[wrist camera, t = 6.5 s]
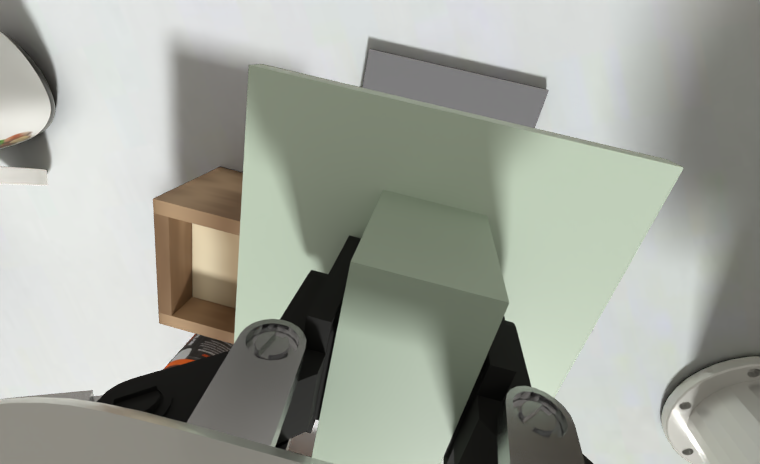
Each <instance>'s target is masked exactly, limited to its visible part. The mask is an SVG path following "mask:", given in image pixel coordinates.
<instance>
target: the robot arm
mask: <svg viewBox="0 0 760 464" xmlns="http://www.w3.org/2000/svg"><path fill="white" fill-rule="evenodd" d="M360 240H361V238H358V237H354V236H350V235H349V237H348V238H347V240H346V242H345V244H344V246H343V248H342V250H341V252H340V253H339V255H338V257H337V259H336V261H335V263H334V265H333V267H332V268H331V270H330V272H329V274H326V273H322V272H318V271H314V270H311V271H310V272H309V273H308V275H307V277H306V278H305V280H304V281H303V283H302V285H301V286H300V288H299V289H298V291H297V293H296V294H295V296H294V297H293V299H292V301H291V302H290V304H289V305H288V307H287V309H286V310H285V312H284V313H283V315H282V317H281V318H280V319H265V320H260V321H257V322H254V323H252V324H250V325H249V326H247V327H246V328H245V329H244V330H243V331H242V332H241V333H240V335H239V336H238V338H237V340H236V341H235V343H234V345H233V346H232V348H231V350H230V351H226V352H223V353H219V354H216V355H212V356H209V357H205V358H202V359H199V360H195V361H192V362H188V363H185V364H181V365H178V366H174V367H171V368H167V369H164V370H161V371H157V372H154V373H150V374H147V375H143V376H140V377H136V378H133V379H130V380H128V381H125V382H122V383H120V384H118V385H116V386H115V387H113V388H112V389H110V390H108V391H107V392H106V393H105V394H104V395H102V396H93V390H90V391H80V392H69V393H58V394H48V395H37V396H26V397H16V398H5V399H0V464H333V463H329V462H326V461H322V460H319V459H315V458H312V457H308V456H304V455H301V454H297V453H294V452H290V451H288V450H289V446H290V442H291V438H293V437H295V436H297V435H299V434H301V433H303V432H308V433H311V431H312V428H313V425H314V422H315V419H316V420H319V418H320V413H321V408H322V403H323V398H324V393H325V388H326V383H327V378H328V373H329V368H330V363H331V358H332V353H333V348H334V343H335V338H336V333H337V328H338V323H339V318H340V313H341V308H342V303H343V298H344V293H345V287H346V282H347V277H348V272H349V267H350V262H351V260H352V258H353V255H354V253H355V251H356V249H357V247H358V244H359V242H360ZM661 421H662V428H663V431H664V433H665V436H666V438H667V439H668V441H669V442H670V444H671V446H672V447H673V449H674V450H675V451H676V452H677V453H678V454H679V455H680V456H681V457H682V458H684V459H685V460H687V461H688V462H690V463H692V464H760V356H754V357H744V358H738V359H732V360H728V361H724V362H721V363H717V364H714V365H712V366H710V367H707V368H705V369H702V370H700V371H699V372H697V373H695V374H694V375H692V376H690V377H689V378H687V379H686V380H685V381H683V382H682V383H681V384H680V385H679V386H677V387H676V389H675V390H674V391H673V392H672V393H671V395H670V396H669V397H668V399H667V401H666V403H665V405H664V407H663V411H662V416H661ZM444 464H593V463H592V462H591V461H590V460H589V459H588V458H587V457H585V456H584V455H583V454H582V451H581V447H580V443H579V439H578V435H577V432H576V428H575V424H574V422H573V420H572V418H571V415H570V414H569V413H568V411H567V410H566V409H565V407H564V406H563V405H562V404H560V403H559V402H558V401H557V400H556V399H555V398H553V397H552V396H550V395H549V394H547V393H546V392H544V391H541V390H539V389H537V388H534V387H531V383H530V379H529V375H528V371H527V367H526V364H525V360H524V356H523V352H522V348H521V344H520V340H519V337H518V333H517V329H516V326H515V324H514V323H513V322H509V321H506V320H505V317H503V319H502V321H501V324H500V326H499V328H498V331H497V333H496V335H495V338H494V340H493V342H492V345H491V347H490V349H489V352H488V354H487V356H486V359H485V361H484V363H483V366H482V368H481V370H480V373H479V375H478V377H477V380H476V382H475V384H474V387H473V389H472V391H471V394H470V396H469V398H468V401H467V403H466V405H465V408H464V410H463V412H462V415H461V417H460V419H459V422H458V424H457V426H456V429H455V431H454V433H453V436H452V438H451V440H450V443H449V445H448V447H447V450H446V452H445V454H444Z"/></svg>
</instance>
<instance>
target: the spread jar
mask: <svg viewBox="0 0 760 464" xmlns="http://www.w3.org/2000/svg"><path fill="white" fill-rule="evenodd" d="M54 115H55V103H54V98H53V95H52V92H51V89H50V87H49V85H48V82H47V80H46V79H45V77H44V75H43V73H42V72H41V70H40V69H39V68H38V66H37V65H36V64H35V62H34V61H33V60H32V59H31V58H30V56H29V55H28V54H27V53H26V52H25V51H24V50H23V49H22V48H21V47H20V46H19V45H18V44H16V43H15V42H14V41H13V40H12V39H11V38H9V37H8V36H7V35H5V34H3V33H2V32H0V149H3V148H6V147H9V146H13V145H16V144H19V143H22V142H24V141H26V140H29V139H31V138H34V137H36V136H37V135H39V134H41V133H42V132H44V131H45V130H46V129H47V128H48V127H49V126H50V124H51V123H52V121H53V118H54ZM0 184H10V185H48V184H47V170H44V169H33V168H18V167H2V166H0Z"/></svg>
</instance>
